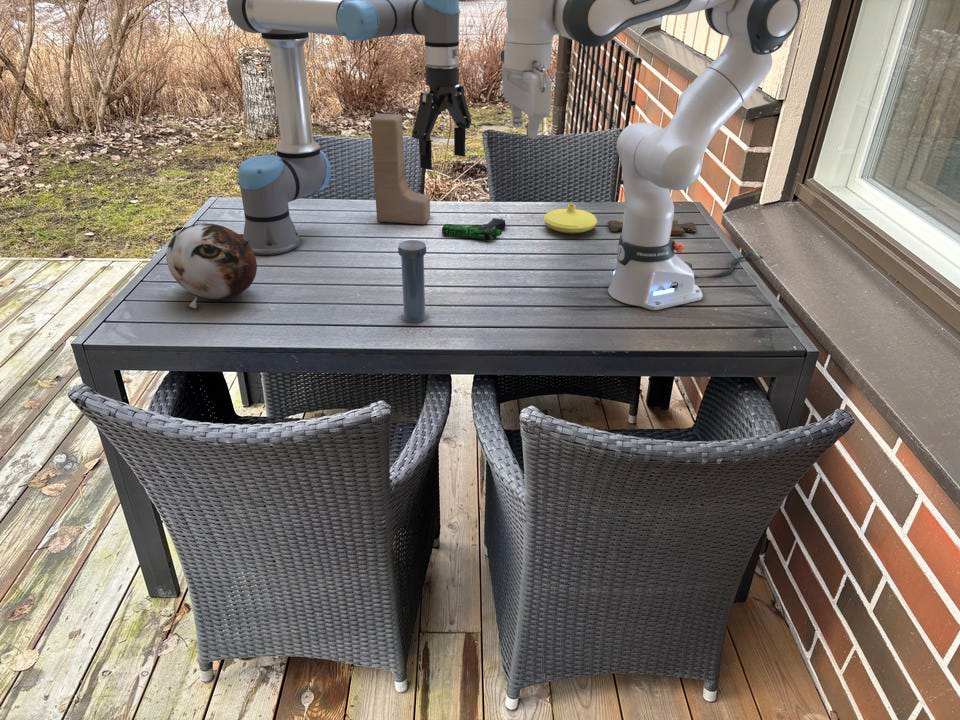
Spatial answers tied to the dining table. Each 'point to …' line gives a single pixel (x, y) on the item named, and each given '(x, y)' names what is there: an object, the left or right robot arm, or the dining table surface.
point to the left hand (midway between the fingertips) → (443, 161)
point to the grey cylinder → (413, 289)
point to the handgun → (476, 230)
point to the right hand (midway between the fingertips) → (524, 131)
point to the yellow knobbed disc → (570, 220)
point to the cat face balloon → (211, 261)
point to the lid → (412, 249)
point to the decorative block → (394, 175)
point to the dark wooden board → (676, 229)
